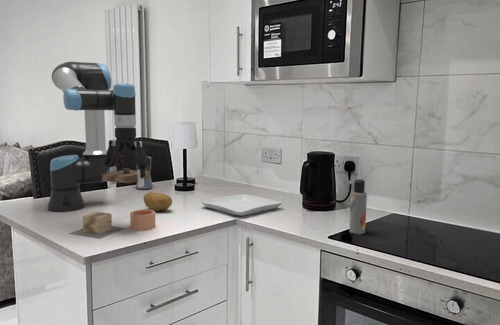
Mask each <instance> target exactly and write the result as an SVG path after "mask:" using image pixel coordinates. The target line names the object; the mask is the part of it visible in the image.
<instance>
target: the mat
mask: <svg viewBox="0 0 500 325" xmlns="http://www.w3.org/2000/svg"><path fill="white" fill-rule="evenodd" d="M124 229H126V227H122V226H121V227H120V226H114V225H112V230H109V231H107V232H104V233H101V234H99V235H98V234H92V233H85V232H83V228H81V229H78V230H75V231H72V232H69V233H68V235H74V236H79V237H80V236H81V237H86V238H92V239H99V240H101V239H103V238H105V237H108V236H109V235H112V234H115V233H117V232H120V231H122V230H124Z"/></svg>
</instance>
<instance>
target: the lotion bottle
mask: <svg viewBox="0 0 500 325" xmlns="http://www.w3.org/2000/svg"><path fill="white" fill-rule="evenodd" d="M353 183H354V184H353V191H351V193H350V207H349V208H350V212H349V232H350V234H353V233H354V234H355V235H363V234H365V233H366V219H367V217H366V216H367V202H368V201H367V200H368V199H367V198H368V197H367V195H368V193H367V192H365V190H366V181H365V180H364V179H360V178H358V179H354V181H353Z"/></svg>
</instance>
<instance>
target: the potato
mask: <svg viewBox="0 0 500 325" xmlns="http://www.w3.org/2000/svg"><path fill="white" fill-rule="evenodd" d="M143 203H144V204H145V206H146V207H147V208H148V209H149V210H153V211H155V212H159V211H161V212H162V211H166V210H168V209H169V208H170V207H171V206H172V204H173V198H172V197H171V196H170V195H169V194H164V193H162V192H155V191H148V192H146V193H145V194H144V195H143Z"/></svg>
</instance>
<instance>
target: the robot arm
mask: <svg viewBox="0 0 500 325" xmlns="http://www.w3.org/2000/svg"><path fill="white" fill-rule="evenodd" d="M51 81H52V82H53V84H54V86H55V87H56V88H58V89H59V90H61V92H62V93H63V96H62V97H63V105H64V106H63V107H64V109H66V110H68V111H70V110H71V111H76V112H77V111H84V131H85V135H84V136H85V150H84V152H83V153H82V157H79V155H77V154H69V155H63V156H61V155H60V156H58V157H54V158H52V159H50V163H49V164H50V165H49V171H50V189H51V191H50V197H49V201H48V203H47V210H48V211H50V212H60V213H61V212H72V211H77V210H81V209H83V208H85V201H84V199H83V195H82V192H81V189H80V185H81V184H90V183H92V184H93V183H103V182H105V181H102V174H105V173H110V172H116V171H117V165H116V163H117V162H118V160H119V158H120V157H121V155H122V153H127V154H129V155H130V156H131V158H132V159H133V161H134V162H135V165H136V164H137V166H138V167H139V169H138V170H137V169H136V171H137V176H138V187H139V188H140V187H144V178H145V169H146V168H148V167H150V164H149V161H148V158H147V153H146V150H145V148H144V141H143V140H139V141H137V140H136V138H137V128H136V126H137V118H136V116H137V114H136V111H137V110H136V94H137V93H136V89H135V85H134V84H131V83H115V84H113V87H112V77H111V72H110V69H109V67H108V66H107V65H106V64H104V63H98V62H83V61H82V62H81V61H80V62H79V61H67V62H62V63H61V64H60V63H59V64H58V65H57V66H56V67H55V68H54V69H53V71H52V73H51ZM111 88H113V90H111ZM105 111H113V117H114V118H113V120H114V122H113V123H114V126H115V128H114V138H115V139H109V140H108V147H107V144H106V143H107V142H106V118H105V116H106V114H105ZM109 183H110V184H109V185H110V186H113V185H117V184H118V182H109Z"/></svg>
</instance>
